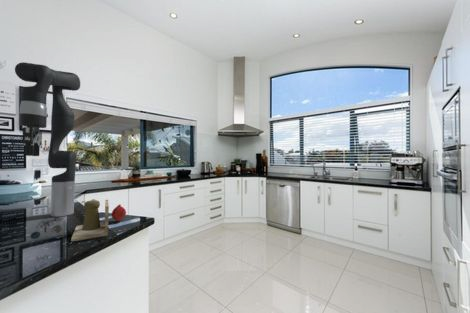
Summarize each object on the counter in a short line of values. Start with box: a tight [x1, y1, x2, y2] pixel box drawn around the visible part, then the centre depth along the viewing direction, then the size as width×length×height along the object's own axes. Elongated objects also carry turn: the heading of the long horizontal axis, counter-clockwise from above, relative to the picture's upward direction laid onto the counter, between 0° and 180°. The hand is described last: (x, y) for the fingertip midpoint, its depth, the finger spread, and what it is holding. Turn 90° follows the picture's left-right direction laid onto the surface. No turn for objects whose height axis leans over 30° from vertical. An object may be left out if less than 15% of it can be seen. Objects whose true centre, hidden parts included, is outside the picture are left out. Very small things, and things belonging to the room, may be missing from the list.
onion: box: [111, 204, 127, 222], centre depth 95 cm, size 6×6×8 cm
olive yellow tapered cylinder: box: [82, 199, 101, 231], centre depth 81 cm, size 6×6×11 cm
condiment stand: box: [70, 199, 110, 242], centre depth 81 cm, size 16×11×11 cm
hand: (32, 155), depth 79 cm, fingers open, 8 cm apart
